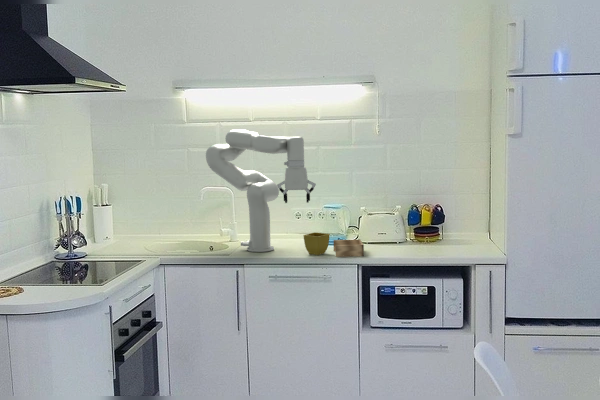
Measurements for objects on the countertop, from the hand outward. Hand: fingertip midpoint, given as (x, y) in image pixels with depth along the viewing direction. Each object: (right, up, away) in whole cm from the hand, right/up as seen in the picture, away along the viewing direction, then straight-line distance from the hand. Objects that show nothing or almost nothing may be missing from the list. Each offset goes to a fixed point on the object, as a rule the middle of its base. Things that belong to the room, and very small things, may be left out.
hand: (296, 202), depth 292 cm
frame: (+23, -23, 0) cm, 32 cm away
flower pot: (+9, -23, 0) cm, 25 cm away
